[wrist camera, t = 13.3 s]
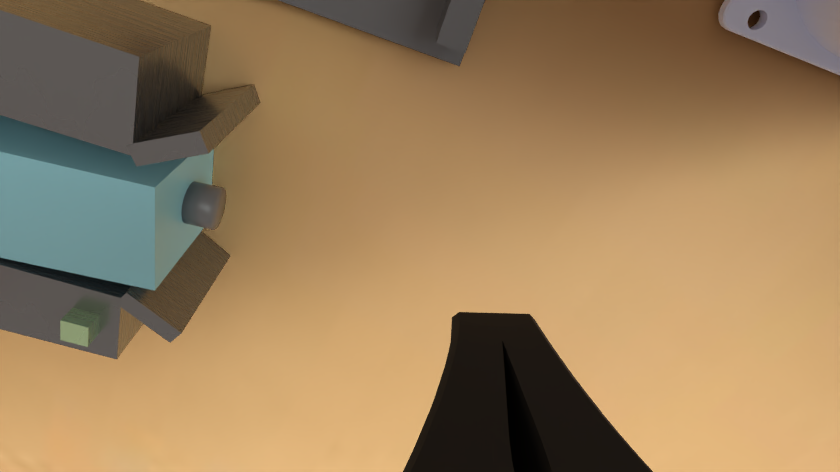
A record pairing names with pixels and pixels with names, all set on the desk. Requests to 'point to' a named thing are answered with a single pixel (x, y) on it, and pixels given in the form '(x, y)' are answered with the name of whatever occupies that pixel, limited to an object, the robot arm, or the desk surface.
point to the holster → (407, 22)
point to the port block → (117, 130)
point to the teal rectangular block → (99, 206)
